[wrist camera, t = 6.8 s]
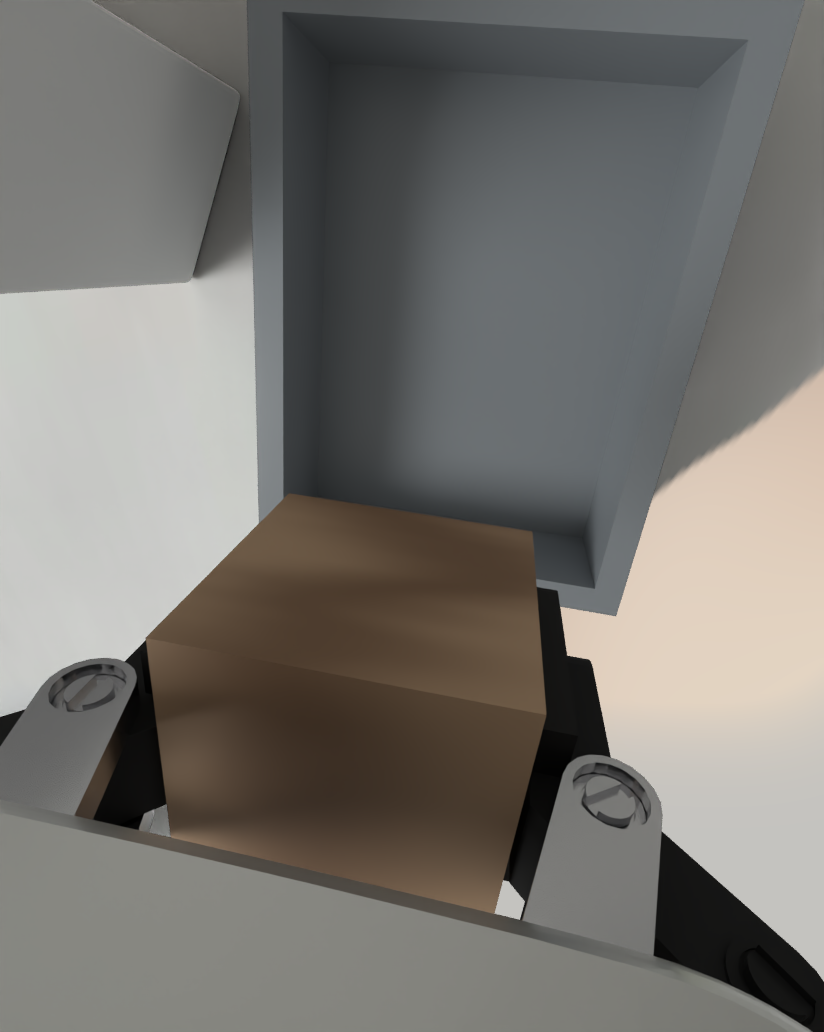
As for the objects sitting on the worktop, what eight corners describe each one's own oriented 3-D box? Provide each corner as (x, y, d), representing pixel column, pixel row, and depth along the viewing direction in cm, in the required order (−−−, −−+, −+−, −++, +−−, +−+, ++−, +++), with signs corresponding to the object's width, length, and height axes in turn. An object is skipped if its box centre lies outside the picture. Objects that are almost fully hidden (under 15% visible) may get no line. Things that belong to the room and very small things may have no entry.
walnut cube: (532, 531, 11) (546, 715, 6) (492, 721, 13) (481, 959, 9) (289, 493, 12) (145, 637, 7) (288, 681, 14) (177, 886, 9)
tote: (733, 58, 18) (807, -11, 13) (598, 553, 25) (615, 616, 21) (308, 31, 19) (246, -40, 15) (302, 505, 27) (259, 554, 22)
